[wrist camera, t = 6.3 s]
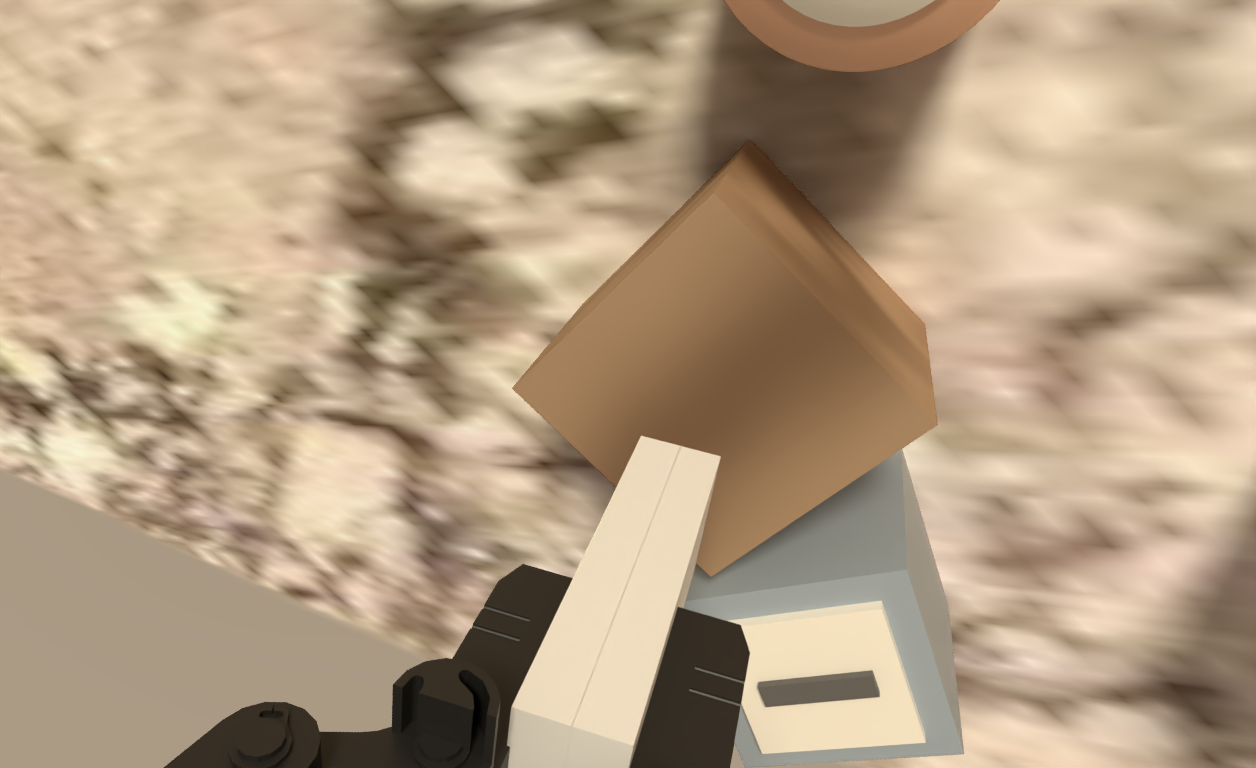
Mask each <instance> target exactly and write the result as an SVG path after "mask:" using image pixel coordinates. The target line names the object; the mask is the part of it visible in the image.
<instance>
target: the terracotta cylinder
mask: <svg viewBox="0 0 1256 768" xmlns="http://www.w3.org/2000/svg"><path fill="white" fill-rule="evenodd" d="M724 1H725V2H726V4H727V5H728V6H729V8H730V9H731V11H732V12H733V13H734V15H735V16H736V17H737V18H738V19H739V21H740V22H741V23H742V24H743V25H744V26H745V27H746V28H747V29H748V30H749V31H750V32H751V33H752V34H753V35H755V36H756V37H757V38H758V39H760V40H761V41H762V42H763V43H765V44H766V45H767V46H769V47H770V48H772V49H774V50H776V51H777V52H779V53H781V54H782V55H784V56H786V57H788V58H791V59H793V60H795V61H798V62H800V63H803V64H806V65H809V66H813V67H817V68H821V69H825V70H834V71H842V72H865V71H874V70H880V69H887V68H891V67H895V66H898V65H902V64H905V63H909V62H912V61H914V60H917V59H919V58H922V57H924V56H926V55H929V54H931V53H933V52H935V51H937V50H938V49H940V48H942V47H944V46H945V45H947V44H949V43H951V42H952V41H954V40H956V39H957V38H958V37H960V36H961V35H962V34H964V33H965V32H966V31H968V30H969V29H970V28H972V27H973V26H974V25H976V24H977V23H978V22H979V21H980V20H981V19H982V18H983V17H984V16H985V15H986V14H987V13H988V12H989V11H991V10H992V9H993V8H994V7H995V5H996V4H997V3H998V2H999V1H1000V0H724Z"/></svg>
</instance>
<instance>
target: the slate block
mask: <svg viewBox="0 0 1256 768" xmlns="http://www.w3.org/2000/svg"><path fill="white" fill-rule="evenodd" d="M684 609H687V610H691V611H694V612H698V613H701V614H705V615H708V616H712V617H715V618H719V619H722V620H725V621H729V622H732V623H736V624H739V625H741V627H742V630H743V633H744V636H745V639H746V642H747V645H748V648H749V651H750V656H749V662H748V668H747V673H746V679H745V683H744V690H743V696H742V702H741V706H740V713H739V719H738V724H737V730H736V736H735V741H734V743H735V745H736V748H737V750H738V752H739V754H740V757H741V759H742V761H743V764H744V766H745V768H752V767H768V766H783V765H799V764H815V763H831V762H847V761H863V760H879V759H894V758H910V757H926V756H942V755H957V754H964V748H963V739H962V730H961V720H960V711H959V702H958V692H957V683H956V673H955V664H954V655H953V645H952V636H951V627H950V617H949V608H948V603H947V600H946V596H945V593H944V590H943V586H942V583H941V579H940V576H939V573H938V569H937V566H936V562H935V559H934V556H933V552H932V549H931V545H930V542H929V539H928V535H927V532H926V528H925V525H924V522H923V518H922V515H921V511H920V508H919V505H918V501H917V498H916V494H915V491H914V488H913V484H912V481H911V477H910V474H909V471H908V467H907V464H906V460H905V457H904V454H903V450H902V449H901V450H899V451H898V452H896V453H895V454H893V455H892V456H890V457H889V458H887V459H886V460H884V461H883V462H881V463H880V464H878V465H877V466H875V467H874V468H872V469H871V470H869V471H868V472H866V473H865V474H863V475H862V476H860V477H859V478H857V479H856V480H855V481H853V482H852V483H850V484H849V485H847V486H846V487H844V488H843V489H841V490H840V491H838V492H837V493H835V494H834V495H832V496H831V497H829V498H828V499H826V500H825V501H823V502H822V503H820V504H819V505H817V506H816V507H814V508H813V509H811V510H810V511H808V512H807V513H805V514H804V515H802V516H801V517H799V518H798V519H797V520H795V521H794V522H792V523H791V524H789V525H788V526H786V527H785V528H783V529H782V530H780V531H779V532H777V533H776V534H774V535H773V536H771V537H770V538H768V539H767V540H765V541H764V542H762V543H761V544H759V545H758V546H756V547H755V548H753V549H752V550H750V551H749V552H747V553H746V554H744V555H743V556H741V557H740V558H738V559H737V560H736V561H734V562H733V563H731V564H730V565H728V566H727V567H725V568H724V569H722V570H721V571H719V572H718V573H716V574H715V575H713V576H712V577H710V576H709V575H708V574H707V573H706V572H705V571H704V570H703V569H702V568H701V567H700V566H699V565H698V564H697V563H696V565H695V569H694V573H693V576H692V580H691V583H690V587H689V590H688V594H687V597H686V601H685V604H684Z"/></svg>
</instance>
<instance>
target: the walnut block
mask: <svg viewBox="0 0 1256 768" xmlns="http://www.w3.org/2000/svg"><path fill="white" fill-rule="evenodd" d="M512 389H513V390H514V391H515V392H516V393H517V394H518V395H520V396H521V397H522V398H523V399H524V400H525V401H526V402H527V403H528V404H529V405H530V406H531V407H532V408H533V409H534V410H535V411H536V412H537V413H539V414H540V415H541V416H542V417H543V418H544V419H545V420H546V421H547V422H548V423H549V424H550V425H551V426H552V427H553V428H554V429H555V430H556V431H557V432H559V433H560V434H561V435H562V436H563V437H564V438H565V439H566V440H567V441H568V442H569V443H570V444H571V445H572V446H573V447H574V448H575V449H576V450H578V451H579V452H580V453H581V454H582V455H583V456H584V457H585V458H586V459H587V460H588V461H589V462H590V463H591V464H592V465H593V466H594V467H595V468H596V469H598V470H599V471H600V472H601V473H602V474H603V475H604V476H605V477H606V478H607V479H608V480H609V481H610V482H611V483H612V484H613V485H614V486H615V487H617V485H618V483H619V481H620V479H621V477H622V475H623V473H624V470H625V468H626V466H627V464H628V462H629V460H630V458H631V456H632V454H633V452H634V450H635V447H636V445H637V443H638V441H639V439H640V437H641V436H644V437H648V438H652V439H656V440H660V441H664V442H667V443H671V444H675V445H679V446H683V447H687V448H691V449H694V450H698V451H702V452H706V453H710V454H714V455H717V456H721V458H720V462H719V467H718V471H717V475H716V479H715V484H714V488H713V492H712V497H711V501H710V505H709V509H708V514H707V518H706V522H705V526H704V531H703V535H702V539H701V543H700V548H699V552H698V556H697V560H696V563H697V564H698V565H699V566H700V567H701V568H702V569H703V570H704V571H705V572H706V573H707V574H708V575H709V576H710V577H712V576H713V575H715V574H716V573H718V572H719V571H721V570H722V569H724V568H725V567H727V566H728V565H730V564H731V563H733V562H734V561H736V560H737V559H738V558H740V557H741V556H743V555H744V554H746V553H747V552H749V551H750V550H752V549H753V548H755V547H756V546H758V545H759V544H761V543H762V542H764V541H765V540H767V539H768V538H770V537H771V536H773V535H774V534H776V533H777V532H779V531H780V530H782V529H783V528H785V527H786V526H788V525H789V524H791V523H792V522H794V521H795V520H797V519H798V518H799V517H801V516H802V515H804V514H805V513H807V512H808V511H810V510H811V509H813V508H814V507H816V506H817V505H819V504H820V503H822V502H823V501H825V500H826V499H828V498H829V497H831V496H832V495H834V494H835V493H837V492H838V491H840V490H841V489H843V488H844V487H846V486H847V485H849V484H850V483H852V482H853V481H855V480H856V479H857V478H859V477H860V476H862V475H863V474H865V473H866V472H868V471H869V470H871V469H872V468H874V467H875V466H877V465H878V464H880V463H881V462H883V461H884V460H886V459H887V458H889V457H890V456H892V455H893V454H895V453H896V452H898V451H899V450H901V449H902V448H904V447H905V446H907V445H908V444H910V443H911V442H913V441H914V440H916V439H917V438H918V437H920V436H921V435H923V434H924V433H926V432H927V431H929V430H930V429H932V428H933V427H935V426H936V425H938V424H937V416H936V408H935V400H934V392H933V384H932V376H931V368H930V360H929V352H928V344H927V336H926V328H925V324H924V323H923V322H922V321H921V320H920V318H919V317H918V316H917V315H916V314H915V313H914V312H913V311H912V310H911V309H910V308H909V307H908V306H907V305H906V304H905V303H904V302H903V300H902V299H901V298H900V297H899V296H898V295H897V294H896V293H895V292H894V291H893V290H892V289H891V288H890V287H889V286H888V285H887V283H886V282H885V281H884V280H883V279H882V278H881V277H880V276H879V275H878V274H877V273H876V272H875V271H874V270H873V269H872V268H871V267H870V265H869V264H868V263H867V262H866V261H865V260H864V259H863V258H862V257H861V256H860V255H859V254H858V253H857V252H856V251H855V250H854V249H853V247H852V246H851V245H850V244H849V243H848V242H847V241H846V240H845V239H844V238H843V237H842V236H841V235H840V234H839V233H838V232H837V231H836V229H835V228H834V227H833V226H832V225H831V224H830V223H829V222H828V221H827V220H826V219H825V218H824V217H823V216H822V215H821V214H820V213H819V211H818V210H817V209H816V208H815V207H814V206H813V205H812V204H811V203H810V202H809V201H808V200H807V199H806V198H805V197H804V196H803V194H802V193H801V192H800V191H799V190H798V189H797V188H796V187H795V186H794V185H793V184H792V183H791V182H790V181H789V180H788V179H787V178H786V176H785V175H784V174H783V173H782V172H781V171H780V170H779V169H778V168H777V167H776V166H775V165H774V164H773V163H772V162H771V161H770V160H769V158H768V157H767V156H766V155H765V154H764V153H763V152H762V151H761V150H760V149H759V148H758V147H757V146H756V145H755V144H754V143H753V142H752V140H751V139H750V140H749V141H748V142H747V143H746V144H745V145H744V146H743V147H742V148H741V149H740V150H739V151H738V152H737V153H736V154H735V155H734V156H733V157H732V158H731V159H730V160H729V161H728V162H727V163H726V164H725V165H724V166H723V167H722V168H721V169H720V170H719V171H718V172H717V173H716V174H715V175H714V176H712V177H711V178H710V179H709V180H708V181H707V182H706V183H705V184H704V185H703V186H702V187H701V188H700V189H699V190H698V191H697V192H696V193H695V194H694V195H693V196H692V197H691V198H690V199H689V200H688V201H687V202H686V203H685V204H684V205H683V206H682V207H681V208H680V209H679V210H678V211H677V212H676V213H675V214H674V215H673V216H672V217H671V218H670V219H669V220H668V221H667V222H666V223H665V224H664V225H663V226H662V227H661V228H660V229H659V230H658V231H657V232H656V233H655V234H654V235H653V236H651V237H650V238H649V239H648V240H647V241H646V242H645V243H644V244H643V245H642V246H641V247H640V248H639V249H638V250H637V251H636V252H635V253H634V254H633V255H632V256H631V257H630V258H629V259H628V260H627V261H626V262H625V263H624V264H623V265H622V266H621V267H620V268H619V269H618V270H617V271H616V272H615V273H614V274H613V275H612V276H611V277H610V278H609V279H608V280H607V281H606V282H605V283H604V284H603V285H602V286H601V287H600V288H599V289H598V290H597V291H596V292H595V293H594V294H593V295H592V296H590V297H589V298H588V299H587V300H586V301H585V302H584V303H583V304H582V306H581V307H580V308H579V309H578V310H577V312H576V313H575V314H574V315H573V316H572V318H571V319H570V320H569V321H568V322H567V324H566V325H565V326H564V327H563V328H562V329H561V331H560V332H559V333H558V334H557V335H556V337H555V338H554V339H553V340H552V341H551V343H550V344H549V345H548V346H547V347H546V349H545V350H544V351H543V352H542V353H541V354H540V356H539V357H538V358H537V359H536V360H535V362H534V363H533V364H532V365H531V366H530V368H529V369H528V370H527V371H526V372H525V374H524V375H523V376H522V377H521V378H520V380H519V381H518V382H517V383H516V384H515V385H514V387H513V388H512Z"/></svg>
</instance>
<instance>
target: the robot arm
mask: <svg viewBox="0 0 1256 768" xmlns="http://www.w3.org/2000/svg"><path fill="white" fill-rule="evenodd" d="M720 458H721V456H717V455H714V454H710V453H706V452H702V451H698V450H694V449H691V448H687V447H683V446H679V445H675V444H671V443H667V442H664V441H660V440H656V439H652V438H648V437H644V436H641V437H640V439H639V441H638V443H637V445H636V447H635V450H634V452H633V454H632V456H631V458H630V460H629V462H628V464H627V466H626V468H625V470H624V473H623V475H622V477H621V479H620V481H619V483H618V485H617V487H616V489H615V491H614V493H613V496H612V498H611V500H610V502H609V504H608V506H607V508H606V510H605V512H604V514H603V516H602V519H601V521H600V523H599V525H598V527H597V529H596V531H595V533H594V535H593V537H592V539H591V542H590V544H589V546H588V548H587V550H586V552H585V554H584V556H583V558H582V560H581V562H580V565H579V567H578V569H577V571H576V573H575V575H574V577H573V578H569V577H566V576H563V575H559V574H556V573H552V572H549V571H545V570H542V569H538V568H535V567H532V566H528V565H525V564H522V565H521V566H520V567H518V568H517V569H515V570H514V571H512V572H511V573H510V574H508V575H507V576H505V577H504V578H502V579H501V580H499V581H498V583H497V585H496V586H495V588H494V590H493V591H492V593H491V595H490V596H489V598H488V600H487V601H486V603H485V605H484V609H482V610H481V612H480V613H479V615H478V617H477V618H476V620H475V622H474V623H473V627H472V629H470V630H469V632H468V633H467V635H466V637H465V639H464V640H463V642H462V644H461V645H460V647H459V649H458V650H457V652H456V654H455V655H454V657H453V659H448V658H444V659H438V660H431V661H425V662H423V663H421V664H419V665H417V666H415V667H413V668H411V669H409V670H407V671H406V672H405V673H404V674H403V675H402V676H401V677H400V678H399V679H398V680H397V681H396V682H395V683H394V684H393V706H392V727H389V728H386V729H382V730H379V731H371V732H319V729H318V725H317V721H316V720H315V719H314V718H313V717H312V716H311V715H310V714H309V713H308V712H307V711H306V710H305V709H303V708H300V707H297V706H294V705H292V704H289V703H286V702H264V703H260V704H257V705H252V706H249V707H245V708H242V709H240V710H239V711H237V712H235V713H234V714H232V715H230V716H229V717H227V718H225V719H224V720H222V721H221V722H220V723H218V724H217V725H216V726H215V727H213V728H212V729H211V730H210V731H208V733H206V734H205V735H203V736H202V737H201V738H200V739H199V740H197V741H196V742H195V743H194V744H192V745H191V746H190V747H189V748H188V749H186V750H185V751H184V752H182V753H181V754H180V755H179V756H177V757H176V758H175V759H174V760H172V761H171V762H170V763H169V764H168V765H167V766H165V767H164V768H730V763H731V758H732V753H733V747H734V741H735V736H736V730H737V724H738V719H739V713H740V706H741V702H742V696H743V690H744V683H745V679H746V673H747V668H748V662H749V656H750V651H749V648H748V645H747V642H746V639H745V636H744V633H743V630H742V627H741V625H739V624H736V623H732V622H729V621H725V620H722V619H719V618H715V617H712V616H708V615H705V614H701V613H698V612H694V611H691V610H687V609H684V604H685V601H686V597H687V594H688V590H689V587H690V583H691V580H692V576H693V573H694V569H695V565H696V560H697V556H698V552H699V548H700V543H701V539H702V535H703V531H704V526H705V522H706V518H707V514H708V509H709V505H710V501H711V497H712V492H713V488H714V484H715V479H716V475H717V471H718V467H719V462H720Z"/></svg>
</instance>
